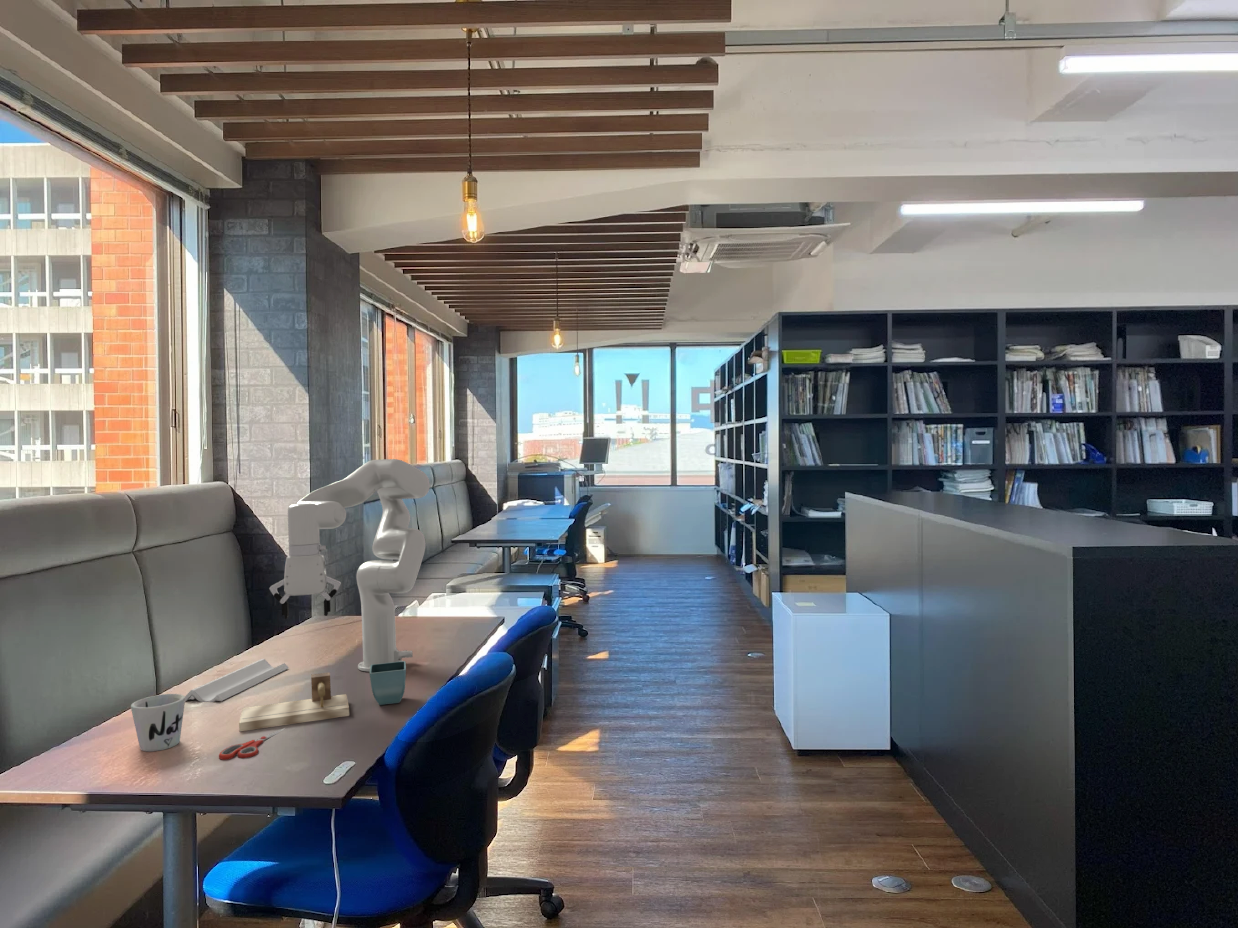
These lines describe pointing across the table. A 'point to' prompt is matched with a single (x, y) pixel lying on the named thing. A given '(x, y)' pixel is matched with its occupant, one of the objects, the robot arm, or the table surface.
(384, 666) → the flower pot
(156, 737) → the mug
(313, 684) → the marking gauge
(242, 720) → the maple board
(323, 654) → the table surface
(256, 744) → the scissors
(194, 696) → the crown molding
